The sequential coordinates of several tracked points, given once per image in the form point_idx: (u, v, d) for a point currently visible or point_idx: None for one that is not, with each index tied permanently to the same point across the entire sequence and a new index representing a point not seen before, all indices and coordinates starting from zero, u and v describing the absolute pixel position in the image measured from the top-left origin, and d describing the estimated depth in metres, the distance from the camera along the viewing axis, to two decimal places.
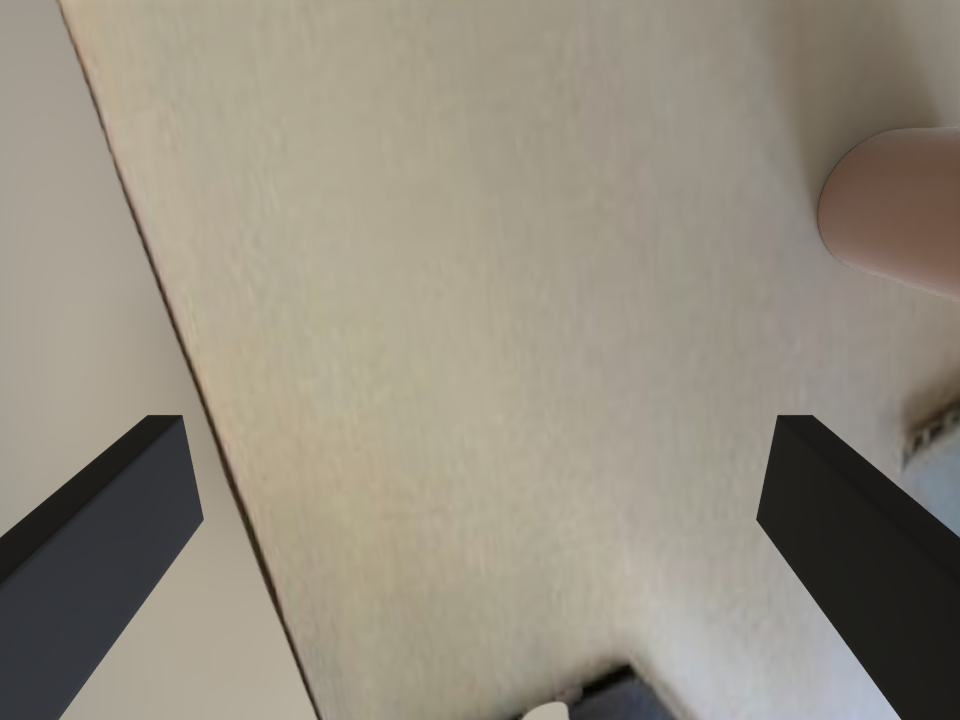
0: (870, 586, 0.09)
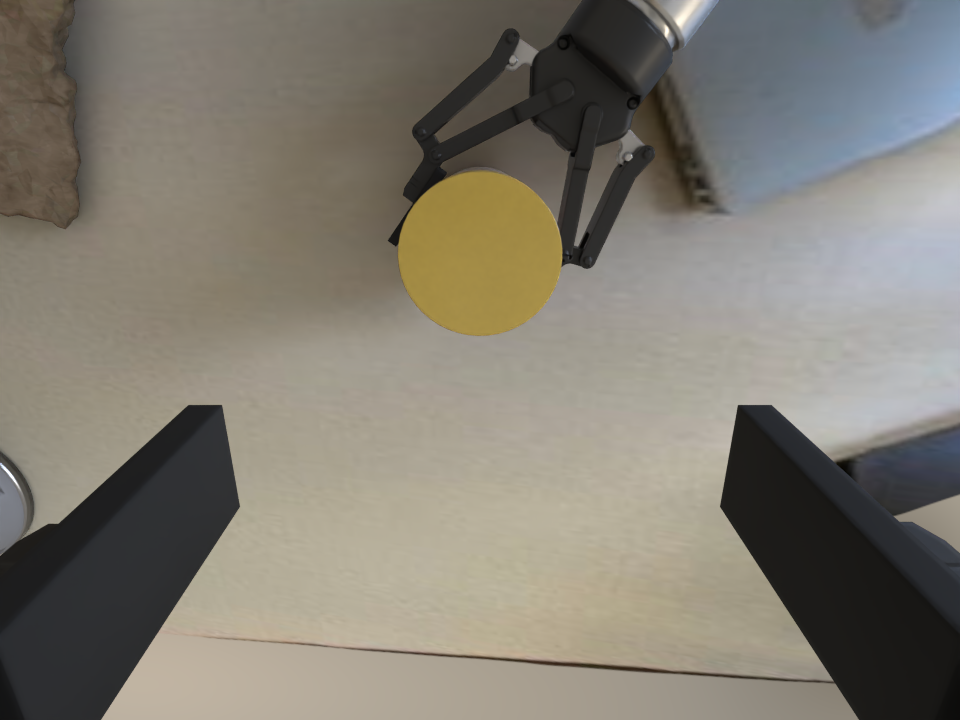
0: (815, 564, 0.10)
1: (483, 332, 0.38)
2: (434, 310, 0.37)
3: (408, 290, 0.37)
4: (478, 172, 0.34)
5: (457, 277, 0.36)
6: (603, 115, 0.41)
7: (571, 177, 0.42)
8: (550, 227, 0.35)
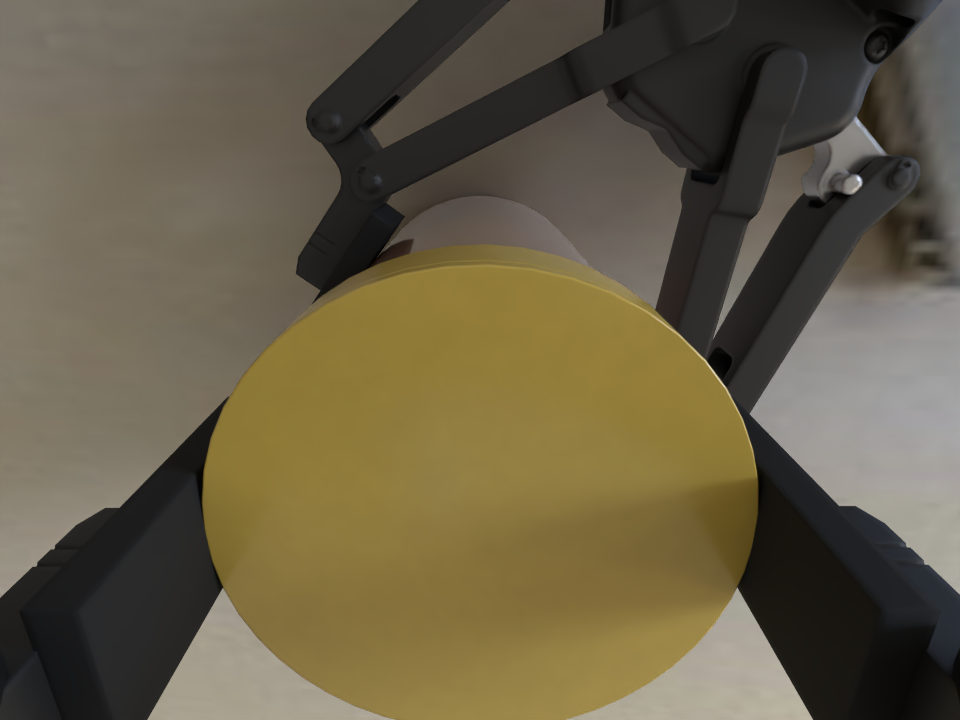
0: (762, 547, 0.10)
1: None
2: (338, 672, 0.12)
3: (251, 624, 0.11)
4: (474, 267, 0.09)
5: (406, 590, 0.11)
6: None
7: (704, 233, 0.17)
8: (727, 450, 0.10)
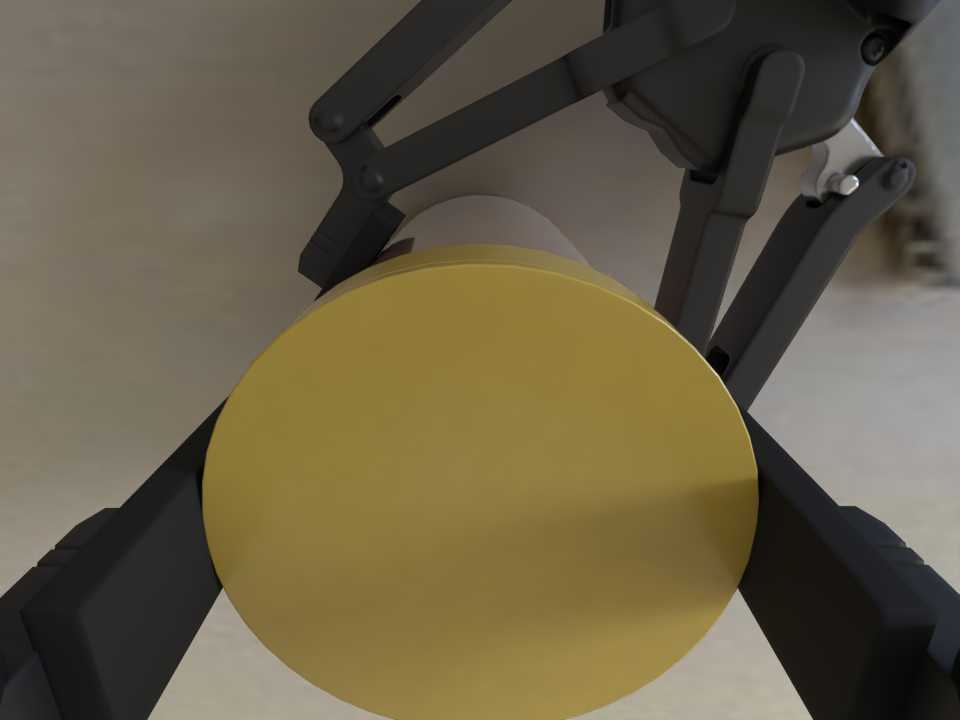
0: (762, 547, 0.10)
1: (733, 571, 0.11)
2: (611, 678, 0.12)
3: None
4: (205, 491, 0.10)
5: (527, 606, 0.11)
6: None
7: (702, 233, 0.17)
8: (419, 297, 0.09)
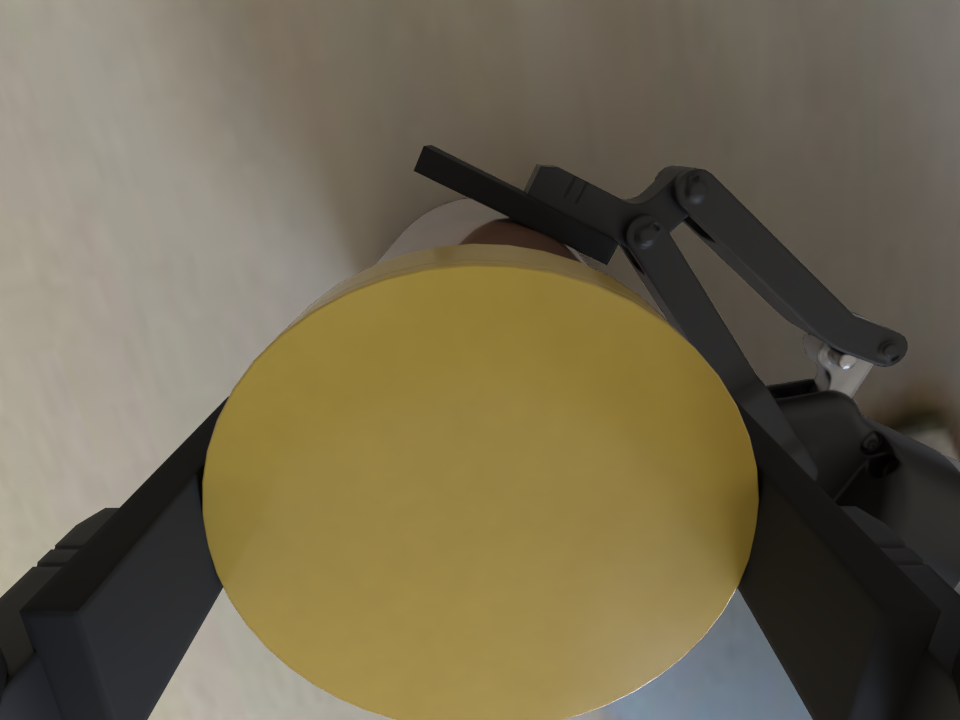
0: (762, 547, 0.10)
1: (733, 571, 0.11)
2: (611, 678, 0.12)
3: None
4: (205, 491, 0.10)
5: (527, 606, 0.11)
6: None
7: None
8: (419, 297, 0.09)
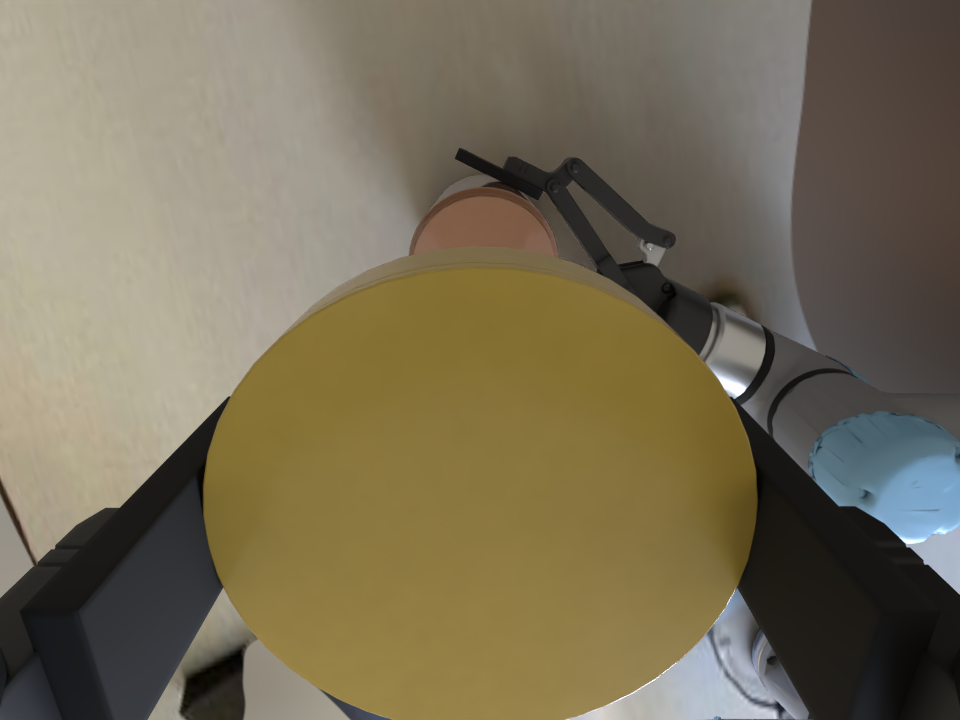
0: (762, 547, 0.10)
1: (732, 572, 0.11)
2: (610, 679, 0.12)
3: None
4: (206, 493, 0.10)
5: (527, 607, 0.11)
6: None
7: None
8: (419, 300, 0.09)
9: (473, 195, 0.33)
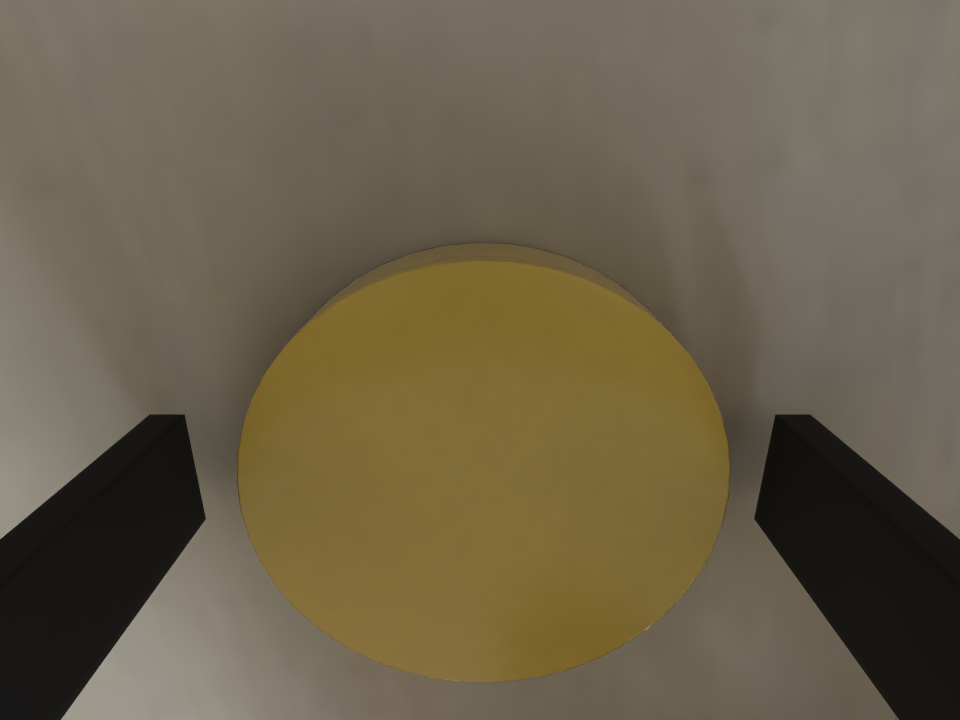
0: (867, 584, 0.10)
1: (708, 534, 0.12)
2: (601, 633, 0.13)
3: (529, 676, 0.14)
4: (240, 462, 0.12)
5: (525, 566, 0.13)
6: None
7: None
8: (431, 289, 0.10)
9: None
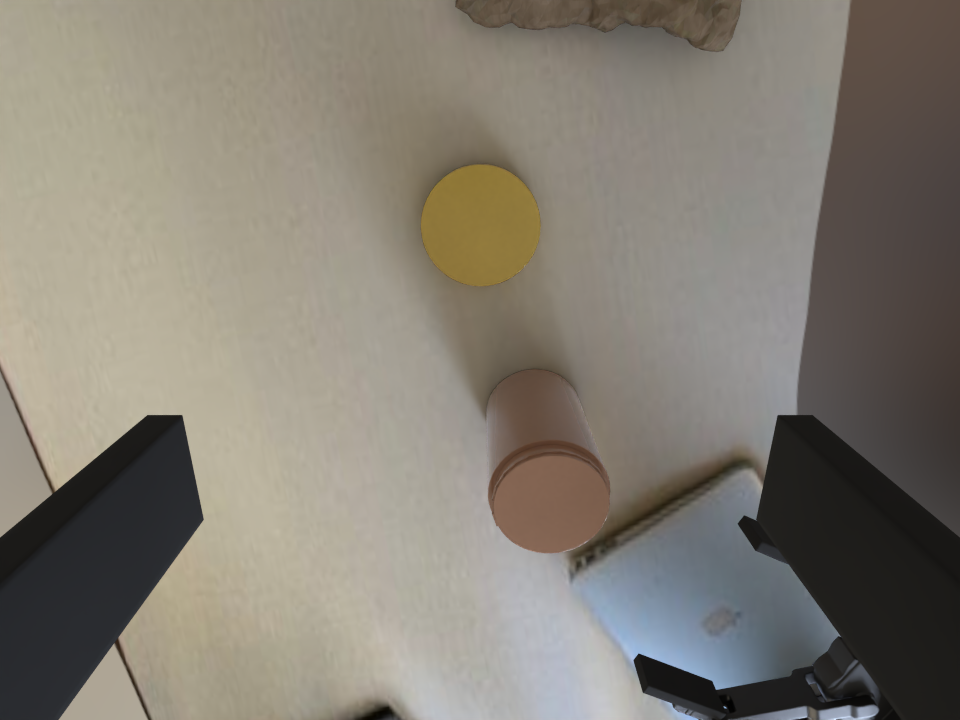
0: (871, 585, 0.09)
1: (536, 236, 0.50)
2: (511, 268, 0.51)
3: (493, 283, 0.51)
4: (422, 216, 0.49)
5: (491, 246, 0.50)
6: None
7: (800, 706, 0.41)
8: (469, 171, 0.48)
9: (545, 452, 0.42)
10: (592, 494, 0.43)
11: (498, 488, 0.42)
